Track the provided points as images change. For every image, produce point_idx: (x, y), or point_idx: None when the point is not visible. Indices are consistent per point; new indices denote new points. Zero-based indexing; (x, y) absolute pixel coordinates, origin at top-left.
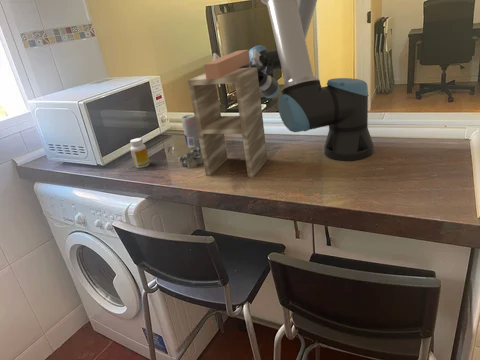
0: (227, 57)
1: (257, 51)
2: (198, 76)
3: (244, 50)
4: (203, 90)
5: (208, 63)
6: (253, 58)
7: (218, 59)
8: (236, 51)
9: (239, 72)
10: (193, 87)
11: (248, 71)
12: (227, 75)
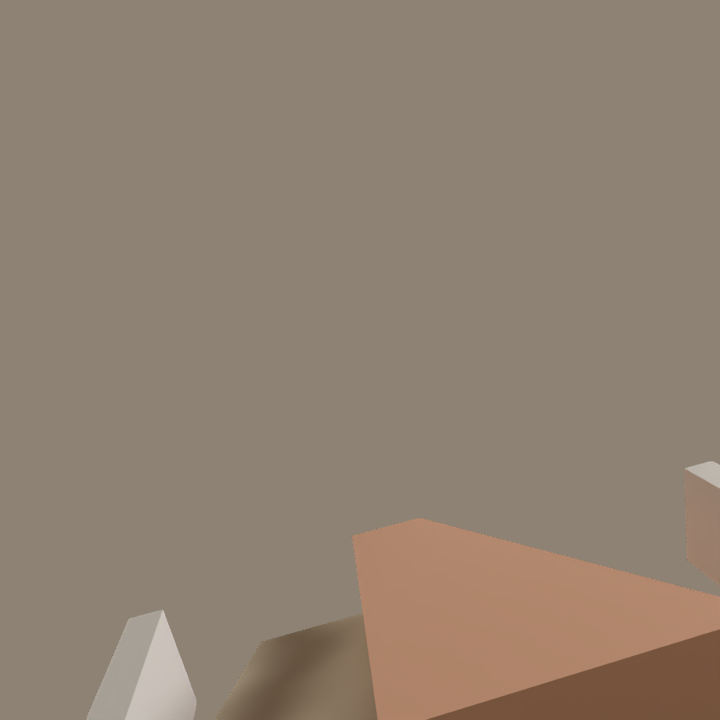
0: (388, 546)
1: (106, 680)
2: None
3: (460, 663)
4: None
5: (408, 522)
6: (189, 711)
7: (422, 530)
8: (636, 591)
9: (299, 672)
10: None
11: (232, 695)
12: (353, 633)
